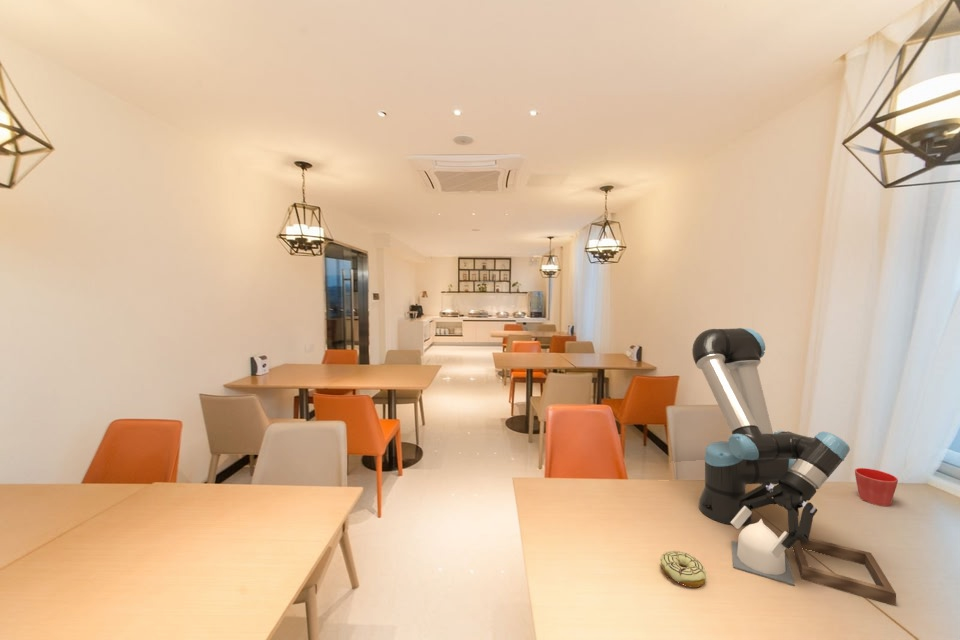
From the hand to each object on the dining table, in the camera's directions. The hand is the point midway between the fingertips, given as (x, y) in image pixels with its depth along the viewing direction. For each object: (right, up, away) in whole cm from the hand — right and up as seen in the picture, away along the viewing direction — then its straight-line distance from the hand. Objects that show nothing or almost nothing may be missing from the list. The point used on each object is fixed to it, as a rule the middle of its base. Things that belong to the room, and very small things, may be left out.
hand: (752, 539), depth 104 cm
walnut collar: (+20, -7, -3) cm, 22 cm away
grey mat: (+3, -7, +1) cm, 7 cm away
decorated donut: (-21, -8, -3) cm, 23 cm away
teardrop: (+3, -7, +1) cm, 7 cm away
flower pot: (+67, -5, +31) cm, 74 cm away
